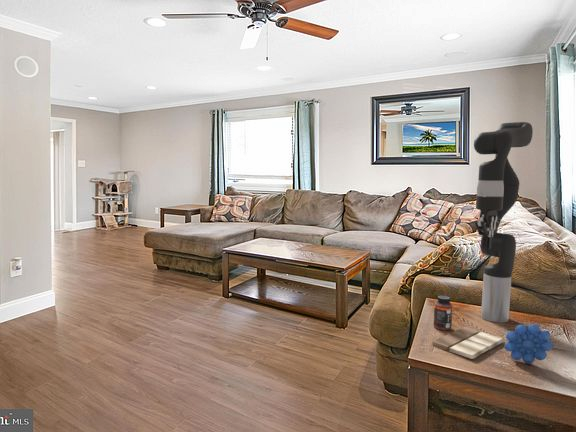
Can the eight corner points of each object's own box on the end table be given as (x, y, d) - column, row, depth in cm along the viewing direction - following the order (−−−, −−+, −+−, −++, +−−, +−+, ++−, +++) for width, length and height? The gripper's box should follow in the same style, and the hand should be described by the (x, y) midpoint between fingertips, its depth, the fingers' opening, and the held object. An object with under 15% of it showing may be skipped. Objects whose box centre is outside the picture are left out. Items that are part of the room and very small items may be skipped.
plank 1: (465, 343, 118) (465, 339, 117) (488, 349, 112) (488, 346, 112) (449, 351, 112) (449, 347, 111) (472, 359, 106) (472, 355, 106)
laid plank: (464, 329, 128) (464, 326, 128) (479, 334, 124) (480, 331, 124) (432, 344, 116) (432, 341, 116) (448, 351, 112) (448, 347, 112)
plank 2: (481, 335, 124) (481, 331, 124) (503, 341, 118) (503, 337, 118) (466, 342, 118) (466, 339, 118) (489, 349, 112) (489, 346, 112)
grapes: (549, 362, 106) (552, 322, 104) (552, 372, 100) (555, 330, 99) (503, 352, 112) (505, 314, 110) (503, 361, 106) (506, 322, 105)
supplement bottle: (453, 331, 126) (454, 300, 125) (435, 330, 128) (436, 299, 127) (449, 325, 132) (450, 295, 131) (431, 323, 133) (433, 294, 132)
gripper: (487, 194, 122) (484, 244, 124) (467, 194, 115) (464, 248, 116) (511, 195, 117) (507, 247, 118) (492, 195, 109) (489, 252, 110)
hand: (486, 248), depth 117 cm, fingers closed
